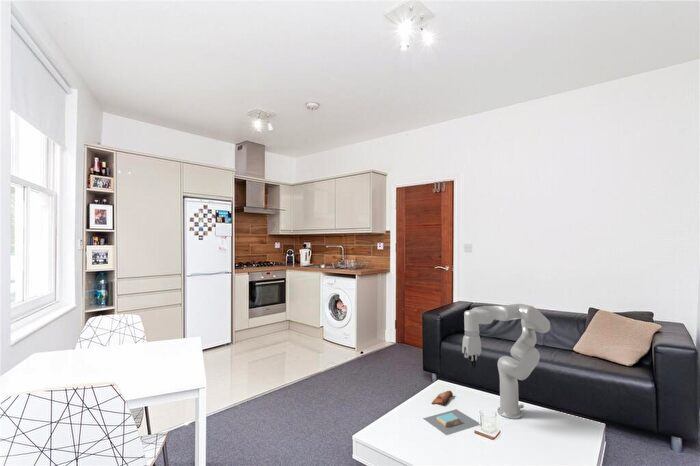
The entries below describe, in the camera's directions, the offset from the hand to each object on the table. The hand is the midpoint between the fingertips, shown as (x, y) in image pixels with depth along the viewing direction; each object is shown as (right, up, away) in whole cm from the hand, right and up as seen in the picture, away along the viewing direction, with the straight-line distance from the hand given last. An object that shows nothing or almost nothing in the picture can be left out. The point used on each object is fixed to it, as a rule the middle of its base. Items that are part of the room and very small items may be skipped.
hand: (472, 367), depth 192 cm
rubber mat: (-12, -29, -3) cm, 31 cm away
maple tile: (-10, -27, -1) cm, 29 cm away
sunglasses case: (-10, -30, +24) cm, 40 cm away
